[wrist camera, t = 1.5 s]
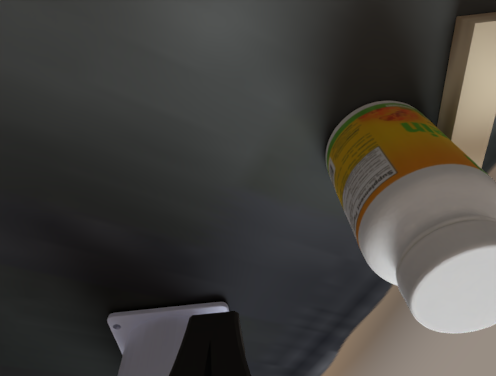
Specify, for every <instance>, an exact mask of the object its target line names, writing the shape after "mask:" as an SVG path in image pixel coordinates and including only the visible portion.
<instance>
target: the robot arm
mask: <svg viewBox="0 0 496 376" xmlns="http://www.w3.org/2000/svg"><path fill="white" fill-rule="evenodd" d="M107 323H108V325H109V327H110V329H111V331H112V333H113V336H114V338H115V340H116V342H117V344H118V346H119V349H120V351H121V353H122V355H123V356H122V360H121V364H120V368H119V372H118V376H251V374H250V371H249V368H248V365H247V361H246V357H245V348H244V343H243V337H242V331H241V325H240V320H239V314H238V313H237V312H235V311H229V308H228V305H227V304H226V303H225V302H211V303H202V304H192V305H183V306H173V307H163V308H154V309H144V310H135V311H125V312H116V313H111V314H109V316H108V319H107Z"/></svg>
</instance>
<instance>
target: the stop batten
mask: <svg viewBox="0 0 496 376" xmlns="http://www.w3.org/2000/svg"><path fill="white" fill-rule="evenodd" d="M495 114H496V12H492V13H483V14H474V15H466V16H457V18H456V23H455V29H454V34H453V40H452V46H451V51H450V57H449V62H448V68H447V73H446V79H445V85H444V90H443V96H442V101H441V107H440V112H439V118H438V123H437V128H438V129H439V130H440V131H441V132H442V133H443V134H444V135H446V136H447V137H448V138H449V139H450V140H451V141H452V142H453V143H454V144H455V145H456V146H457V147H459V148H460V149H461V150H462V151H463V152H464V153H465V154H466V155H467V156H468V157H469V158H471V159H472V160H473V161H474V162H475V163H476V164H477V165H478V166H479V167H480V168H481V167H482V164H483V160H484V156H485V152H486V148H487V145H488V141H489V137H490V133H491V129H492V126H493V122H494V118H495Z"/></svg>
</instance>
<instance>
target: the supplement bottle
mask: <svg viewBox="0 0 496 376" xmlns="http://www.w3.org/2000/svg"><path fill="white" fill-rule="evenodd" d="M326 166H327V170H328V173H329V176H330V178H331V181H332V184H333V186H334V188H335V191H336V193H337V195H338V198H339V200H340V202H341V205H342V207H343V209H344V212H345V214H346V216H347V219H348V221H349V223H350V226H351V228H352V231H353V233H354V235H355V238H356V240H357V242H358V245H359V247H360V250H361V252H362V254H363V256H364V258H365V260H366V261H367V263H368V265H369V266H370V267H371V269H372V270H373V271H374V272H375V273H376V274H377V275H379V276H380V277H381V278H383V279H384V280H386V281H388V282H389V283H392V284H394V285H397V286H398V288H399V291H400V293H401V295H402V296H403V298H404V299H405V301H406V303H407V305H408V307H409V309H410V311H411V313H412V315H413V316H414V318H415V319H416V320H417V321H418V322H419V323H420V324H422V325H423V326H425V327H427V328H428V329H431V330H434V331H437V332H443V333H467V332H472V331H477V330H480V329H484V328H487V327H490V326H492V325H495V324H496V182H495V181H494V180H493V179H492V178H491V177H490V176H489V175H488V174H487V173H486V172H485V171H483V170H482V169H481V168H480V167H479V166H478V165H477V164H476V163H475V162H474V161H473V160H472V159H471V158H469V157H468V156H467V155H466V154H465V153H464V152H463V151H462V150H461V149H460V148H459V147H457V146H456V145H455V144H454V143H453V142H452V141H451V140H450V139H449V138H448V137H447V136H446V135H444V134H443V133H442V132H441V131H440V130H439V129H438V128H437V127H436V126H435V125H434V124H433V123H432V122H431V121H430V120H429V119H428V118H426V117H425V116H424V115H423V114H422V113H421V112H419V111H418V110H417V109H415V108H414V107H412V106H410V105H408V104H406V103H402V102H398V101H378V102H373V103H370V104H367V105H364V106H362V107H360V108H358V109H356V110H354V111H353V112H351V113H350V114H349V115H347V116H346V117H345V118H344V119H343V120H342V121H341V122H340V123H339V124H338V125H337V127H336V128H335V129H334V131H333V133H332V134H331V136H330V138H329V141H328V144H327V148H326Z"/></svg>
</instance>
